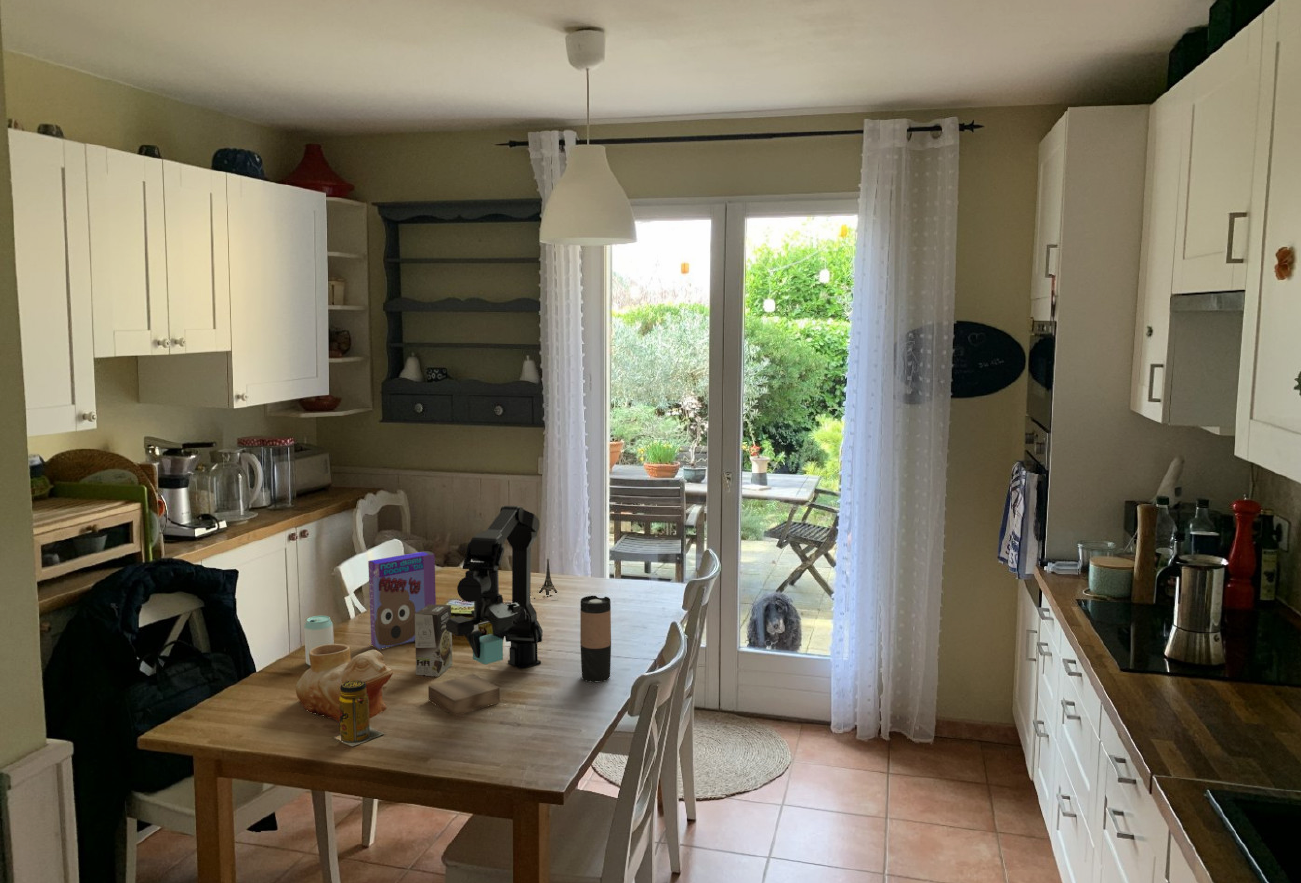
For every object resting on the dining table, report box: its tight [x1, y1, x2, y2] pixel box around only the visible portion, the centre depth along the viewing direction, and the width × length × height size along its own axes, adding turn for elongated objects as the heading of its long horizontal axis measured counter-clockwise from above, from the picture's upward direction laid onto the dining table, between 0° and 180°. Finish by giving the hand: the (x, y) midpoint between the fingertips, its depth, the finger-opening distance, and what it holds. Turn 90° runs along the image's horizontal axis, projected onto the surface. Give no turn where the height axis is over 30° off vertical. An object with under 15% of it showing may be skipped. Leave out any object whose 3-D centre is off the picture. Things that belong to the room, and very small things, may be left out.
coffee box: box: [414, 604, 453, 678], centre depth 250 cm, size 9×6×16 cm
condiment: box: [334, 680, 386, 747], centre depth 211 cm, size 7×8×12 cm
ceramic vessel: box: [295, 643, 394, 723], centre depth 225 cm, size 14×26×15 cm, turn 58°
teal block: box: [472, 633, 504, 665], centre depth 229 cm, size 5×5×5 cm
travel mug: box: [579, 595, 612, 683], centre depth 245 cm, size 8×8×20 cm
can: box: [303, 615, 335, 667], centre depth 255 cm, size 7×7×12 cm
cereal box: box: [367, 550, 437, 650], centre depth 272 cm, size 17×5×24 cm, turn 131°
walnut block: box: [427, 673, 501, 717], centre depth 231 cm, size 12×12×4 cm
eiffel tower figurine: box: [538, 558, 558, 595], centre depth 319 cm, size 15×10×13 cm
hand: (487, 655), depth 230 cm, fingers closed on teal block, 5 cm apart
